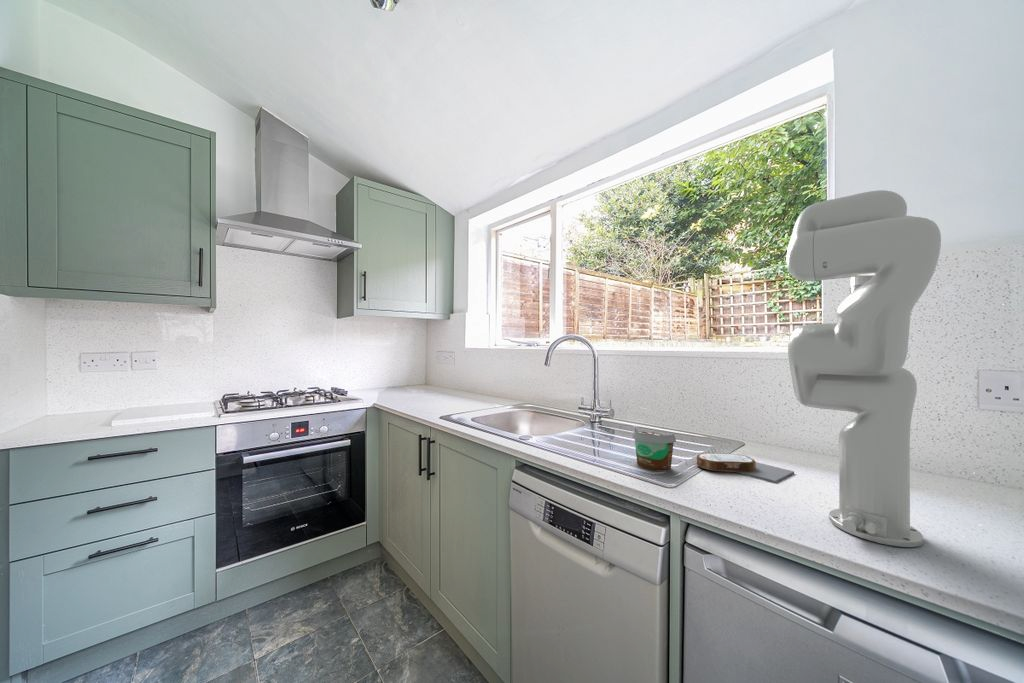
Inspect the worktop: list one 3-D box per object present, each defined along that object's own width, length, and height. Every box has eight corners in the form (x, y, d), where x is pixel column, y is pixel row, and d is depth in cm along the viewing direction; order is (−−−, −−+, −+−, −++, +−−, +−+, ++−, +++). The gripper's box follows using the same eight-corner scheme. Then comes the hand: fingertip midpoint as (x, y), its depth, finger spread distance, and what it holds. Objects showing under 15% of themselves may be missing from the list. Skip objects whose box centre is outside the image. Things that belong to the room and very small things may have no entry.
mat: (775, 483, 91) (775, 480, 91) (711, 465, 105) (711, 463, 105) (794, 473, 98) (794, 471, 98) (731, 458, 111) (731, 456, 111)
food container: (624, 465, 105) (624, 430, 105) (634, 460, 110) (633, 427, 110) (668, 475, 97) (668, 438, 97) (676, 469, 101) (676, 434, 101)
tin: (762, 472, 97) (745, 464, 105) (762, 460, 97) (745, 453, 106) (704, 470, 99) (692, 462, 107) (703, 459, 99) (691, 452, 107)
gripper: (885, 289, 80) (886, 372, 80) (901, 294, 88) (901, 369, 88) (841, 293, 86) (841, 370, 86) (859, 297, 94) (860, 367, 94)
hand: (872, 369), depth 87 cm, fingers closed
